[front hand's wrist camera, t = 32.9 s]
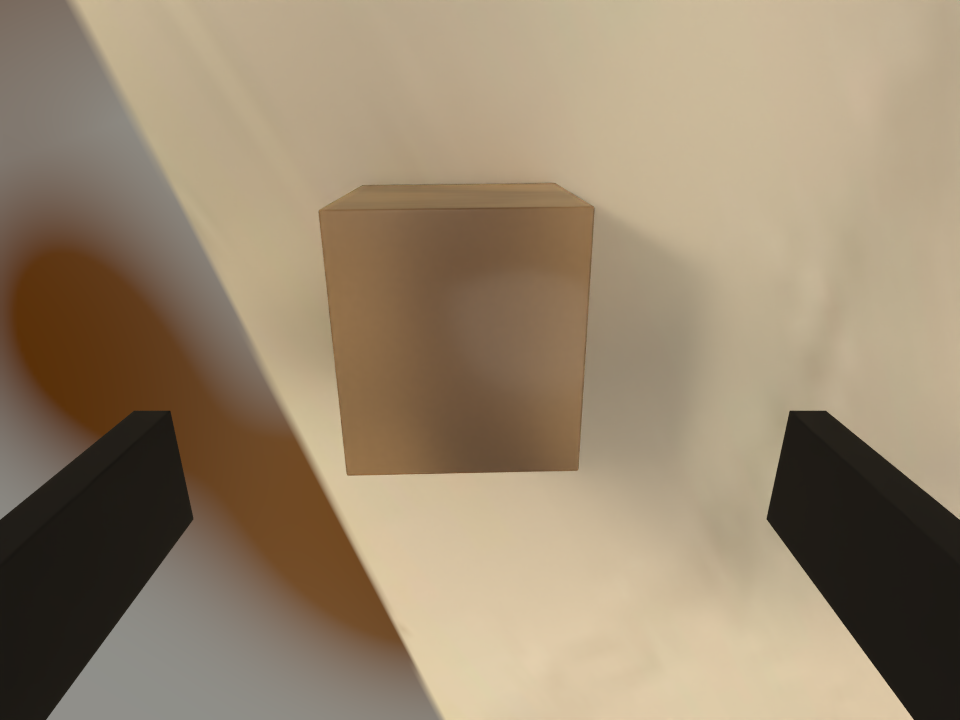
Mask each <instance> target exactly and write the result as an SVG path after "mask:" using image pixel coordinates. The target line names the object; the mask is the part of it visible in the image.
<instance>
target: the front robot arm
mask: <svg viewBox="0 0 960 720" xmlns="http://www.w3.org/2000/svg"><path fill="white" fill-rule="evenodd" d="M192 520H193V515H192V510H191V505H190V501H189V496H188V491H187V487H186V482H185V477H184V473H183V468H182V463H181V459H180V454H179V449H178V445H177V440H176V435H175V431H174V426H173V421H172V417H171V412H170V411H133V412H132V413H131V414H130V415H128V416H127V417H126V418H125V419H124V420H122V421H121V422H120V423H119V424H117V425H116V426H115V427H114V428H112V429H111V430H110V431H109V432H108V433H106V434H105V435H104V436H103V437H101V438H100V439H99V440H98V441H97V442H95V443H94V444H93V445H92V446H90V447H89V448H88V449H87V450H85V451H84V452H83V453H82V454H81V455H79V456H78V457H77V458H76V459H74V460H73V461H72V462H71V463H70V464H68V465H67V466H66V467H65V468H63V469H62V470H61V471H60V472H58V473H57V474H56V475H55V476H53V477H52V478H51V479H50V480H49V481H47V482H46V483H45V484H44V485H42V486H41V487H40V488H39V489H38V490H36V491H35V492H34V493H33V494H31V495H30V496H29V497H28V498H26V499H25V500H24V501H23V502H22V503H20V504H19V505H18V506H17V507H15V508H14V509H13V510H12V511H11V512H9V513H8V514H7V515H6V516H4V517H3V518H2V519H1V520H0V720H46V719H47V718H48V716H49V715H50V714H51V712H52V711H53V710H54V708H55V707H56V705H57V704H58V703H59V701H60V700H61V699H62V697H63V696H64V695H65V693H66V692H67V690H68V689H69V688H70V686H71V685H72V684H73V682H74V681H75V680H76V678H77V677H78V676H79V674H80V673H81V671H82V670H83V669H84V667H85V666H86V665H87V663H88V662H89V660H90V659H91V658H92V656H93V655H94V654H95V652H96V651H97V650H98V648H99V647H100V646H101V644H102V643H103V641H104V640H105V639H106V637H107V636H108V635H109V633H110V632H111V631H112V629H113V628H114V627H115V625H116V624H117V622H118V621H119V620H120V618H121V617H122V616H123V614H124V613H125V612H126V610H127V609H128V607H129V606H130V605H131V603H132V602H133V601H134V599H135V598H136V597H137V595H138V594H139V593H140V591H141V590H142V588H143V587H144V586H145V584H146V583H147V581H148V580H149V579H150V577H151V576H152V575H153V573H154V572H155V571H156V569H157V568H158V567H159V565H160V564H161V563H162V561H163V560H164V558H165V557H166V556H167V554H168V553H169V552H170V550H171V549H172V548H173V546H174V545H175V543H176V542H177V541H178V539H179V538H180V537H181V535H182V534H183V533H184V531H185V530H186V529H187V527H188V526H189V524H190V523H191V522H192ZM767 520H768V522H769V523H770V524H771V526H772V527H773V529H774V530H775V531H776V533H777V534H778V535H779V537H780V538H781V539H782V541H783V542H784V544H785V545H786V546H787V548H788V549H789V550H790V552H791V553H792V554H793V556H794V557H795V558H796V560H797V561H798V563H799V564H800V565H801V567H802V568H803V569H804V571H805V572H806V573H807V575H808V576H809V578H810V579H811V580H812V582H813V583H814V584H815V586H816V587H817V588H818V590H819V591H820V593H821V594H822V595H823V597H824V598H825V599H826V601H827V602H828V603H829V605H830V606H831V607H832V609H833V610H834V612H835V613H836V614H837V616H838V617H839V618H840V620H841V621H842V622H843V624H844V625H845V627H846V628H847V629H848V631H849V632H850V633H851V635H852V636H853V637H854V639H855V640H856V641H857V643H858V644H859V646H860V647H861V648H862V650H863V651H864V652H865V654H866V655H867V656H868V658H869V659H870V661H871V662H872V663H873V665H874V666H875V667H876V669H877V670H878V671H879V673H880V674H881V676H882V677H883V678H884V680H885V681H886V682H887V684H888V685H889V686H890V688H891V689H892V690H893V692H894V693H895V695H896V696H897V697H898V699H899V700H900V701H901V703H902V704H903V705H904V707H905V708H906V710H907V711H908V712H909V714H910V715H911V716H912V718H913V719H914V720H960V520H959V519H958V518H957V517H956V516H954V515H953V514H952V513H951V512H949V511H948V510H947V509H946V508H945V507H943V506H942V505H941V504H940V503H938V502H937V501H936V500H935V499H934V498H932V497H931V496H930V495H929V494H927V493H926V492H925V491H924V490H922V489H921V488H920V487H919V486H918V485H916V484H915V483H914V482H913V481H911V480H910V479H909V478H908V477H907V476H905V475H904V474H903V473H902V472H900V471H899V470H898V469H897V468H895V467H894V466H893V465H892V464H891V463H889V462H888V461H887V460H886V459H884V458H883V457H882V456H881V455H879V454H878V453H877V452H876V451H875V450H873V449H872V448H871V447H870V446H868V445H867V444H866V443H865V442H864V441H862V440H861V439H860V438H859V437H857V436H856V435H855V434H854V433H852V432H851V431H850V430H849V429H848V428H846V427H845V426H844V425H843V424H841V423H840V422H839V421H838V420H837V419H835V418H834V417H833V416H832V415H830V414H829V413H828V412H827V411H790V412H789V417H788V421H787V426H786V431H785V435H784V440H783V445H782V449H781V454H780V459H779V463H778V468H777V473H776V477H775V482H774V487H773V491H772V496H771V501H770V505H769V510H768V515H767Z"/></svg>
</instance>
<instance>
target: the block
mask: <svg viewBox="0 0 960 720" xmlns="http://www.w3.org/2000/svg"><path fill="white" fill-rule="evenodd" d="M594 209H595V208H594V207H593V206H592V205H590V204H588V203H587V202H585V201H583V200H582V199H580V198H579V197H577V196H575V195H574V194H572V193H570V192H569V191H567V190H565V189H564V188H562V187H561V186H559V185H557V184H555V183H531V184H440V185H362V186H360V187H359V188H357V189H355V190H353V191H352V192H350V193H348V194H346V195H345V196H343V197H341V198H339V199H338V200H336V201H334V202H333V203H331V204H329V205H327V206H326V207H324V208H322V209H320V210H319V220H320V229H321V238H322V248H323V257H324V266H325V276H326V285H327V294H328V304H329V313H330V323H331V332H332V341H333V351H334V360H335V369H336V379H337V388H338V397H339V407H340V416H341V425H342V435H343V444H344V453H345V463H346V472H347V475H395V474H442V473H488V472H535V471H577V470H578V468H579V452H580V435H581V419H582V403H583V387H584V371H585V355H586V338H587V322H588V306H589V290H590V274H591V258H592V242H593V225H594Z"/></svg>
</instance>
